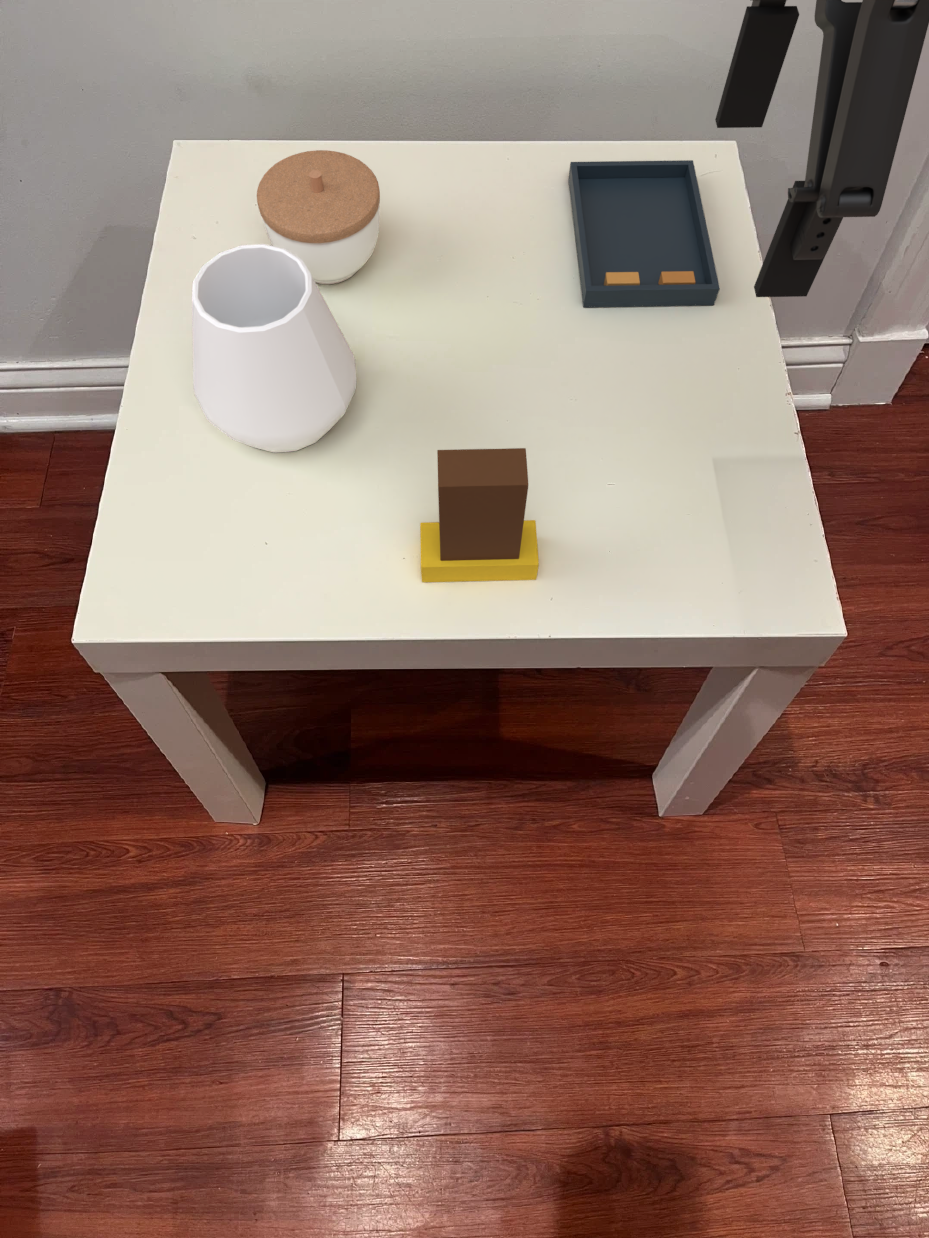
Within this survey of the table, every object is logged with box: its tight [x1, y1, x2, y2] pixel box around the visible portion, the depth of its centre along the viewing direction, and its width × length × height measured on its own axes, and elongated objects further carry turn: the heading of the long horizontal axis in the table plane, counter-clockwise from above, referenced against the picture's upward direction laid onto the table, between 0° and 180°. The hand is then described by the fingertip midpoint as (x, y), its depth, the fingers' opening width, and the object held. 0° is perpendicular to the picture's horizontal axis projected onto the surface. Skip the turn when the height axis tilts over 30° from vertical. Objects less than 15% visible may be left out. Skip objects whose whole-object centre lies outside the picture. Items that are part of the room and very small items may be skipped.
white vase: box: [191, 243, 357, 454], centre depth 71 cm, size 13×13×14 cm
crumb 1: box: [604, 272, 640, 286], centre depth 83 cm, size 1×3×1 cm, turn 92°
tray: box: [567, 159, 721, 309], centre depth 86 cm, size 17×12×2 cm
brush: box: [419, 447, 540, 583], centre depth 66 cm, size 9×4×12 cm, turn 92°
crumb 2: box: [658, 271, 695, 285], centre depth 83 cm, size 1×3×1 cm, turn 92°
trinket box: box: [256, 149, 381, 285], centre depth 81 cm, size 11×11×9 cm
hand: (757, 203), depth 51 cm, fingers open, 13 cm apart
